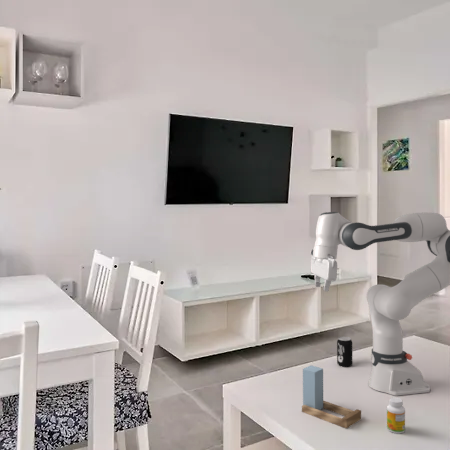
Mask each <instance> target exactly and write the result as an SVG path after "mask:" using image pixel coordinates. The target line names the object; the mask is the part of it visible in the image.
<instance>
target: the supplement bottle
mask: <svg viewBox="0 0 450 450" xmlns="http://www.w3.org/2000/svg"><path fill="white" fill-rule="evenodd" d="M403 404H404V403H403V399H402V398H400V397H398V396H397V397H396V396H395V397H394V396H392V397H390V398H389V401H388V405H387V406H386V428H387V429H386V430H388V432H390V433H392V434H397V435H398V434H404V432H405V431H406V408H405V407H404V405H403Z"/></svg>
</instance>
